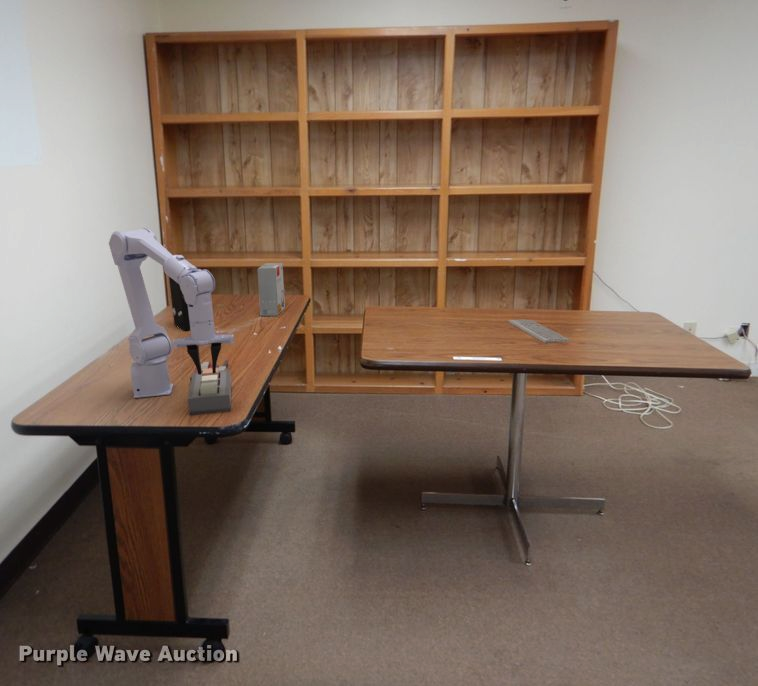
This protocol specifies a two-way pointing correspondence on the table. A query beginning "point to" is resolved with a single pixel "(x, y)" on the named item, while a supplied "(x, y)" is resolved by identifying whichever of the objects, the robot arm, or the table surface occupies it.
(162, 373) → the robot arm
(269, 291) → the hard drive box
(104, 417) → the table surface
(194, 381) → the keypad housing
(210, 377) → the offwhite key
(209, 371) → the terracotta key
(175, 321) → the handheld gaming console
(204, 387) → the sage key
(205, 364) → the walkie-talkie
